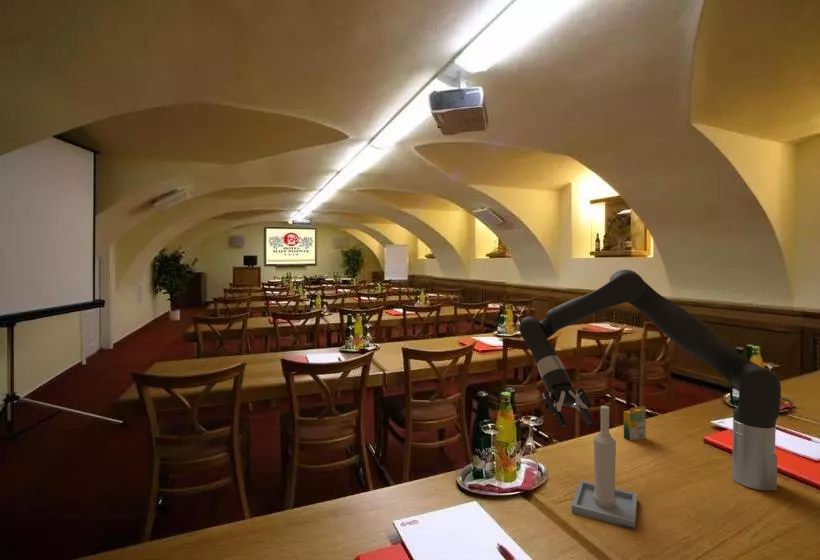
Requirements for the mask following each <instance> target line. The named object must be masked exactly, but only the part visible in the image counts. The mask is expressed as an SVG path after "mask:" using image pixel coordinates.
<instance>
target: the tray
mask: <svg viewBox="0 0 820 560" xmlns="http://www.w3.org/2000/svg"><path fill="white" fill-rule="evenodd" d="M594 493H595V482H594V483H593V482H589V481H585V480H581V479H579V482H578V485H577V488H576V492H575V495H574V497H573V500H572V504H571V513H573V514H575V515H580V516H584V517H585V518H586V517H587V518H591V519H594V520H598V521H601V522H606V523H609V524H613V525H616V526H620V527H623V528H626V529H630V530H633V531H635V530H636V522H637V521H636V520H637V508H638V507H637V506H638V493H636V492H631V491H628V490H623V489H619V488H615V498H616V502H615V506H614V507H613V508H610V509H609V508H603V507H600V506H598V505H597V504H596V503H595V501H594Z"/></svg>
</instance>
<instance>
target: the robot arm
mask: <svg viewBox="0 0 820 560" xmlns="http://www.w3.org/2000/svg"><path fill="white" fill-rule="evenodd" d="M625 303H628V304H629V305H631V306H633V307H634V308H635V309H637V310H639V312H641V313H643V314H644V316H646V317H647V318H648V319H649V320H650V321H651V322H652V323H653V325H655V326H656V328H658V329H659V330H660V331H661V332H662V333H663V334H664V335H666V336H667V337H668V338H669V339H670V340H671V341H672V342H674V343H675V344H676V345H678V346H679V347H680V348H682V349H683V350H685V351H686V352H688V353H690V354H691V355H692V356H694V357H696V358H698V359H699V360H701V361H703V362H704V363H706V364H708V365H709V366H710V367H711V368H713V369H714V370H716V372H718V374H720V375H721V376H722V377H723V378H724V379H725V380H726V381H727V382H728V383H730V385H732V387H733V388H734V389H736V391H737V392H738V404H737V407H735V408H734V409H733V412H732V413H733V414H732V466H731V467H732V468H731V472H732V475H731V476H732V479H733V481H734V482H737V484H740V485H741V486H744V487H747V488H750V489H753V490H758V491H775V492H777V491H778V490H777V489H778V456H777V454H776V430H777V429H776V426H777V425H776V423H777V420H778V418H779V416H780V410H781V398H782V397H781V396H782V388H781V387H782V386H781V381H780V380H779V378H778V376H777V375H776V374H775V373H774V372H773V371H771V370H770V369H767V368H765V367H763V366H761V365H759V364H757V363H754V362H753V361H751V360H749V359H747V358H746V357H745V356H742V354H740V353H738V352H736V351H735V350H734V349H733V348H731V347H730V346H728V345H727V344H726V343H725V342H724V341H723V339H722V338H721V337H719V335H718V334H717V332H715V331H714V330H713V329H711V327H709V326H708V325H707V324H706V323H705V322H703V321H702V320H700V319H699V318H697V317H696V316H695V315H694V314H692V313H690V312H689V311H687V310H686V309H684V308H683V307H682V306H680V305H678V304H676V303H674V301H671V300H669V299H668V298H666V297H665V296H662V295H661V294H660V293H658V292H657V291H656V290H655V289H654V288H653V287H651V286H650V285H649V284H648V283H647V282H646V281H645V280H644V279H643V278H642V276H640V274H638V273H637V272H636V271H633V270H631V269H621V270H617V271H616V272H614V273H613V274H612V275H611V276H610V278H609V281H608V282H607V283H604V285H602V286H600V287H598V288H597V289H595V290H593V291H591V292H589V293H587V294H584V295H581V296H579V297H576V298H573V299H571V300H567V301H566V302H564V303H561V304H559V305H557V306H555V307H553V308H551V309H549V310H548V311H547V312H546V314H545V318H543V319H542V320H540V321H539V320H538V319H537V318H535V317H533V316H526V317H523V318H522V319H521V321H520V322H519V325H518V326H519V333H520V335H521V337H522V339H523V340H524V342H525V343H526V346H527V347H528V349H529V350H530V352H531V354H532V358H533V359H534V361H535V364H536V366H537V370H538V373H539V375H540V377H541V380H542V381H543V384H544V386H545V388H546V390H544V392H542V393H541V395H540V397H541V400H542V403H543V406H544V409H545V410H546V413H547V414H552V415H554V416H555V418H556V421H557V423H558V425H559V426H560V427H561V428H565V427H566V426H568V423H567V420H566V418H565V416H564V413H563V411H562V407H572V408H574V409H576V410H578V411H579V412H580V415H581V417H582V420H583V421H584V423H585V425H586V426H588V425H590V424H592V422H593V419H592V416H591V414H590V411H589V409H590V408H591V407H592V406H593V405H592V403H591V401H590V399H589V397H588V396H587V394H586V392H585V390H584V388H582V387H580V388H579V389H574V388H573V386H572V385H573V384H572V381H571V378H570V376H569V374H568V372H567V371H566V368H565V366H564V364H563V362H562V360H561V359H560V357H559V356H558V353H557V352H556V350H555V348H554V346H553V345H552V343H551V342H550V341H549V339H550V338H551V337H552V336H554V335H555V334H556V333H557V332H558V331H559V330H562V329H564V328H567V327H568V326H571V325H572V324H575V323H576V322H579V321H581V320H583V319H585V318H587V317H589V316H592V315H594V314H596V313H599V312H601V311H603V310H606V309H608V308H611V307H614V306H619V305H621V304H625ZM552 400H553V401H554V402H553V401H552ZM575 401H576V402H575Z"/></svg>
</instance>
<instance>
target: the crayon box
mask: <svg viewBox="0 0 820 560" xmlns="http://www.w3.org/2000/svg"><path fill="white" fill-rule="evenodd" d="M646 407H647V406H646V405H643V406H637V407H630V408H629V410H624V411H623V438H624V439H625V440H626V441H630V442H632V441H636V440H642V439H646V437H647V435H646V434H647V433H646V428H647V426H646V422H647V421H646V409H647V408H646Z"/></svg>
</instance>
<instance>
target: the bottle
mask: <svg viewBox="0 0 820 560" xmlns="http://www.w3.org/2000/svg"><path fill="white" fill-rule="evenodd" d="M616 451H617V441H616V440H615V438H614V437H612V436H611V433H610V407H609V406H607V405H601V406H600V431H599V432H598V434H597V435H595V436H594V437H593V456H594V457H593V458H594V459H593V464H594V465H593V469H594V474H593V476H594V484H595V493H594V501H595V503H596V504H597V505H598V506H600V507H603V508H609V509H610V508H613V507H614V506H615V502H616V498H615V489H616V455H617V452H616Z"/></svg>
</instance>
